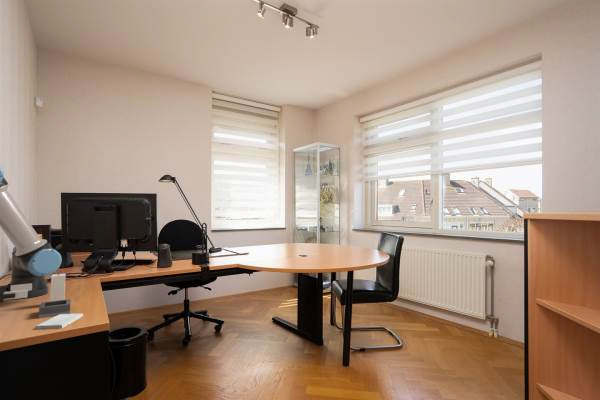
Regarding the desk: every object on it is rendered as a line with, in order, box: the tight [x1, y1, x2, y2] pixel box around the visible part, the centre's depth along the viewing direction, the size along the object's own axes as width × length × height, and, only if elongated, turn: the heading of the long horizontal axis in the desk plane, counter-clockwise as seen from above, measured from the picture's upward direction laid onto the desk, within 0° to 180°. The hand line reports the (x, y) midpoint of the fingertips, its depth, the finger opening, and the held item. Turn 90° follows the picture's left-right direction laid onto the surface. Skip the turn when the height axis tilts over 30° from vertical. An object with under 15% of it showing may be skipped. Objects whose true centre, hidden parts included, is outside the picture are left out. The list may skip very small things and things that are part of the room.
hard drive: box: [34, 313, 84, 330], centre depth 108 cm, size 2×8×12 cm
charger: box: [50, 273, 66, 301], centre depth 130 cm, size 4×4×12 cm
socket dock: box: [38, 298, 72, 319], centre depth 118 cm, size 9×9×4 cm
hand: (29, 290), depth 124 cm, fingers open, 13 cm apart
